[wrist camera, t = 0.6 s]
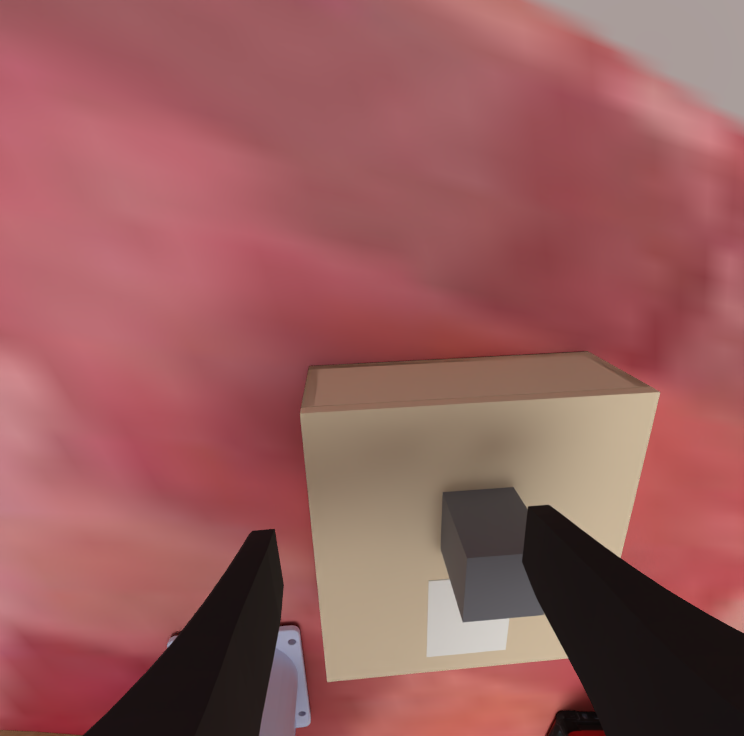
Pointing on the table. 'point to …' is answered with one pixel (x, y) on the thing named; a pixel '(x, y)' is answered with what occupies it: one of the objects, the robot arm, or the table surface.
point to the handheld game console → (576, 724)
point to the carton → (461, 378)
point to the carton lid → (457, 519)
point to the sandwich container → (30, 733)
